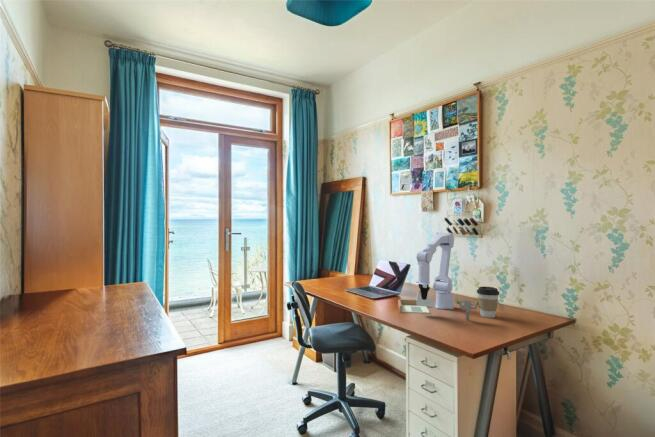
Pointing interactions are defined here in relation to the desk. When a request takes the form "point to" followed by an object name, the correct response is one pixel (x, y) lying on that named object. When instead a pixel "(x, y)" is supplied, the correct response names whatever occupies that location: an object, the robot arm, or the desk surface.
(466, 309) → the mechanical component
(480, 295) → the coffee cup
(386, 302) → the desk surface
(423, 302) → the bracket
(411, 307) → the corner arena
